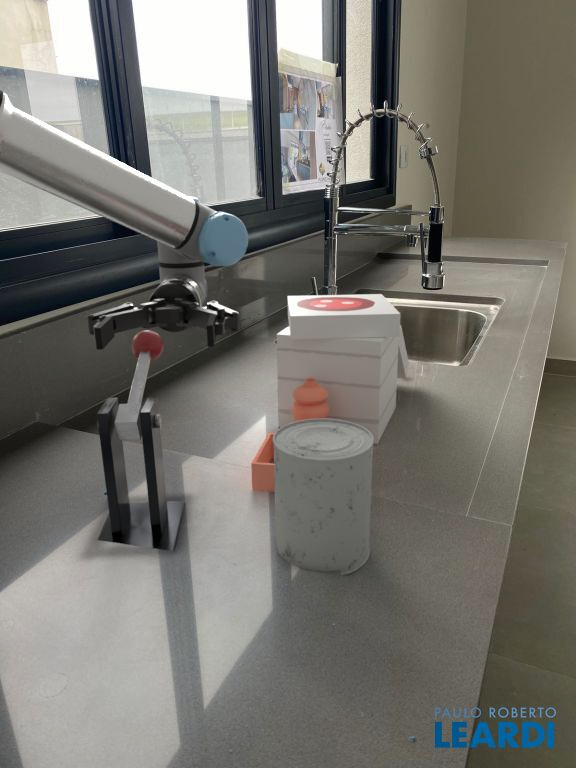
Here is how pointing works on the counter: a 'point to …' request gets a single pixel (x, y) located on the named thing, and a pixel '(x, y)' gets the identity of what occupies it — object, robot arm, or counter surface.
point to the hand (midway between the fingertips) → (154, 337)
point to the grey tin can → (323, 494)
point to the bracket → (158, 516)
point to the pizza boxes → (343, 357)
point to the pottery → (305, 407)
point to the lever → (137, 385)
